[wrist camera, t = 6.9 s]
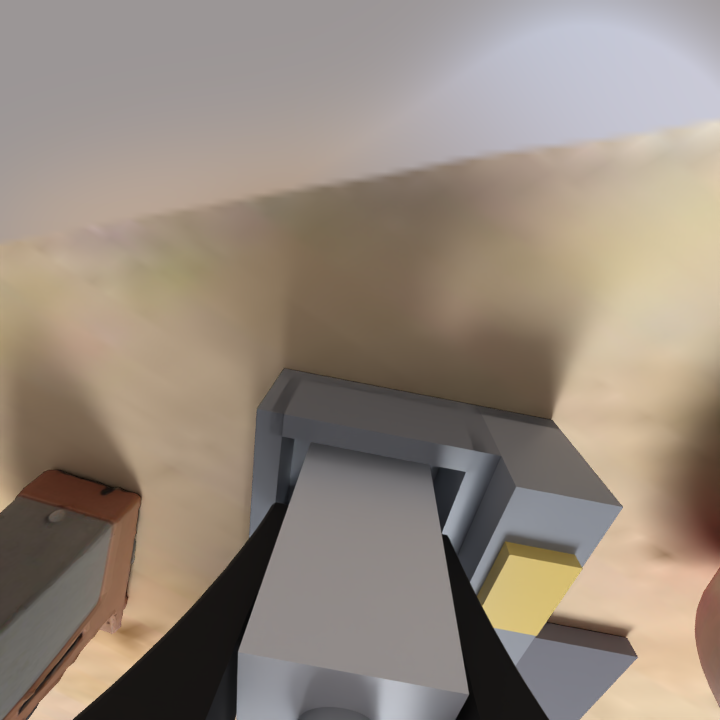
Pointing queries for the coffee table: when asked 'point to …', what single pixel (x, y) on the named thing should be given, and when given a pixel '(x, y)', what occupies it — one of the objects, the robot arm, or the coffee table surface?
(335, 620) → the plug
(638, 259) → the coffee table surface
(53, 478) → the electronic device
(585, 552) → the board
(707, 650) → the decorative fruit
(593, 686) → the grey flat square plate
